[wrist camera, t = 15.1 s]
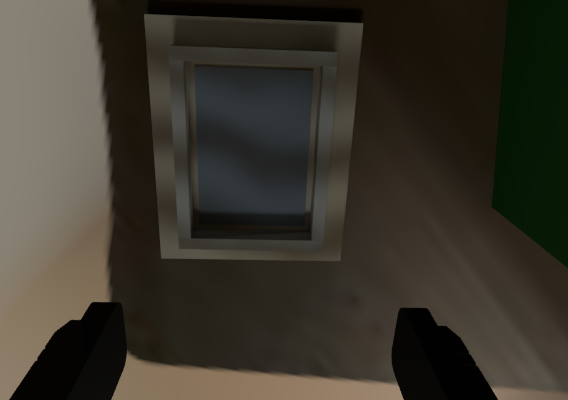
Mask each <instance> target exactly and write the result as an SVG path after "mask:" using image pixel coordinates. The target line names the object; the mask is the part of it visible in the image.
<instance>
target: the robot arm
mask: <svg viewBox="0 0 568 400" xmlns="http://www.w3.org/2000/svg"><path fill="white" fill-rule="evenodd" d="M126 355H127V343H126V334H125V325H124V316H123V308H122V305H121V303H118V302H92V303H91V304H90V306H89V307H88V309H87V311H86V312H85V314H84V316H83V317H82V319H81V320H70V321H69V322H68V323H66V324H65V325H64V326H62V327H61V328H60V329H58V330H57V331H56V332H55V333H54V334H53V336H52V337H51V339H50V340H49V342H48V343H47V345H46V346H45V349H44V350H43V351H42V352H41V353H40V355H39V356H38V359H37V361H35V363H34V364H33V365H32V367H31V368H30V370H29V371H28V373H27V374H26V376H25V377H24V379H23V380H22V382H21V383H20V385H19V386H18V388H17V389H16V391H15V392H14V393H13V395H12V397H11V398H10V399H9V400H111V399H112V396H113V394H114V391H115V389H116V386H117V384H118V382H119V379H120V377H121V374H122V372H123V369H124V366H125V362H126ZM392 366H393V371H394V374H395V377H396V380H397V382H398V385H399V388H400V391H401V393H402V396H403V399H404V400H498V399H497V397H496V396H495V394H494V392H493V391H492V389H491V387H490V386H489V384H488V382H487V381H486V379H485V378H484V376H483V374H482V373H481V371H480V369H479V368H478V366H476V363H475V361H474V360H473V358H472V356H471V355H469V351H468V350H467V348H466V346H465V345H464V343H463V341H462V340H461V338H460V337H459V336H457V335H456V334H455V333H454V332H453V331H451V330H450V329H449V328H448V327H447V326H437V324H436V322H435V320H434V318H433V317H432V315H431V313H430V311H429V310H428V309H427V308H400V310H399V312H398V317H397V323H396V329H395V334H394V340H393V346H392Z"/></svg>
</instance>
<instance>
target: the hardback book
mask: <svg viewBox="0 0 568 400" xmlns="http://www.w3.org/2000/svg"><path fill="white" fill-rule="evenodd" d="M492 208H494V209H495V210H496V211H497V212H499V213H500V214H501V215H502V216H504V217H505V218H506V219H507V220H509V221H510V222H511V223H512V224H514V225H515V226H516V227H517V228H519V229H520V230H521V231H522V232H524V233H525V234H526V235H527V236H529V237H530V238H531V239H532V240H534V241H535V242H536V243H537V244H539V245H540V246H541V247H542V248H543V249H545V250H546V251H547V252H548V253H550V254H551V255H552V256H553V257H555V258H556V259H557V260H558V261H560V262H561V263H562V264H563V265H565V266H566V267H567V268H568V0H508V11H507V24H506V36H505V49H504V61H503V74H502V86H501V99H500V111H499V124H498V136H497V149H496V161H495V174H494V186H493V199H492Z"/></svg>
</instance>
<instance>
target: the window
mask: <svg viewBox="0 0 568 400" xmlns="http://www.w3.org/2000/svg"><path fill="white" fill-rule="evenodd" d="M144 20H145V34H146V48H147V62H148V76H149V90H150V104H151V118H152V133H153V147H154V161H155V175H156V189H157V203H158V217H159V231H160V245H161V258H176V259H241V260H306V261H340V259H341V249H342V238H343V228H344V218H345V207H346V197H347V186H348V176H349V166H350V155H351V145H352V134H353V124H354V114H355V103H356V93H357V83H358V72H359V62H360V51H361V41H362V31H363V23H344V22H320V21H296V20H272V19H248V18H225V17H201V16H177V15H153V14H144Z"/></svg>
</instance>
